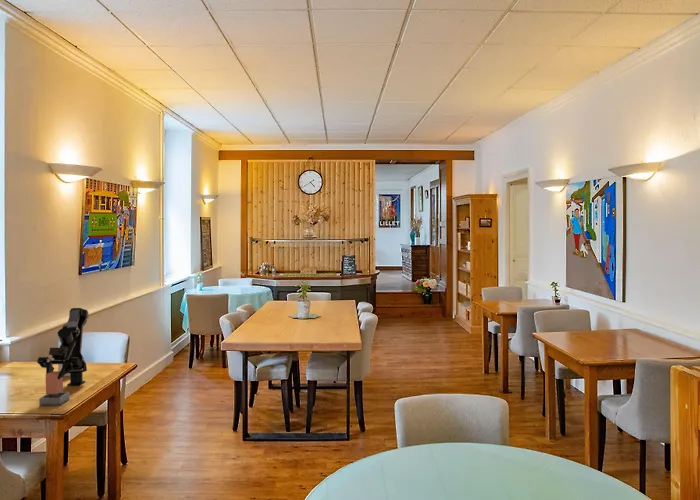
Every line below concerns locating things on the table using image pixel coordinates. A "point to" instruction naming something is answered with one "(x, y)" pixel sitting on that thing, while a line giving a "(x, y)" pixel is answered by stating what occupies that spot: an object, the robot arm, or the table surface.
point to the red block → (53, 383)
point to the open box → (54, 399)
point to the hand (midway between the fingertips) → (52, 378)
